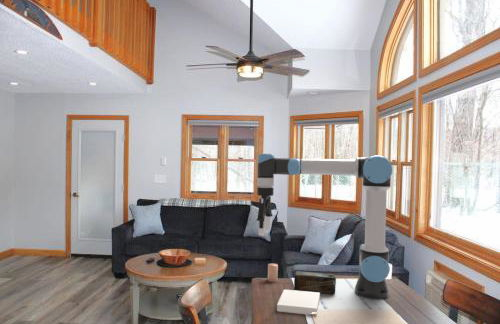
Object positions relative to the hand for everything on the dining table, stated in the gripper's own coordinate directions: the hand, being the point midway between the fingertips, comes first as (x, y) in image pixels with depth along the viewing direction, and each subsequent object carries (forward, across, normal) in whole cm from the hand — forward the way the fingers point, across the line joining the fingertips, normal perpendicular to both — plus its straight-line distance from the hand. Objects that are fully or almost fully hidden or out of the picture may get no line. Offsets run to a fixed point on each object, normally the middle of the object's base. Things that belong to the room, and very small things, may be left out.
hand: (264, 232), depth 191 cm
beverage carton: (+29, -9, +14) cm, 33 cm away
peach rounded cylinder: (+28, -19, +1) cm, 34 cm away
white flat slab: (+28, +12, +18) cm, 35 cm away
